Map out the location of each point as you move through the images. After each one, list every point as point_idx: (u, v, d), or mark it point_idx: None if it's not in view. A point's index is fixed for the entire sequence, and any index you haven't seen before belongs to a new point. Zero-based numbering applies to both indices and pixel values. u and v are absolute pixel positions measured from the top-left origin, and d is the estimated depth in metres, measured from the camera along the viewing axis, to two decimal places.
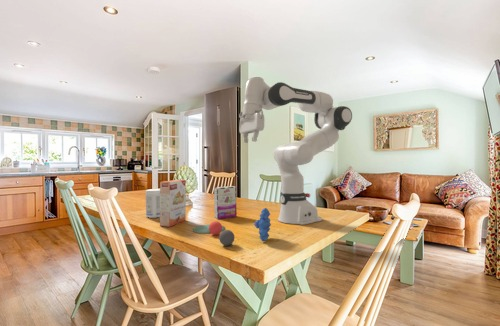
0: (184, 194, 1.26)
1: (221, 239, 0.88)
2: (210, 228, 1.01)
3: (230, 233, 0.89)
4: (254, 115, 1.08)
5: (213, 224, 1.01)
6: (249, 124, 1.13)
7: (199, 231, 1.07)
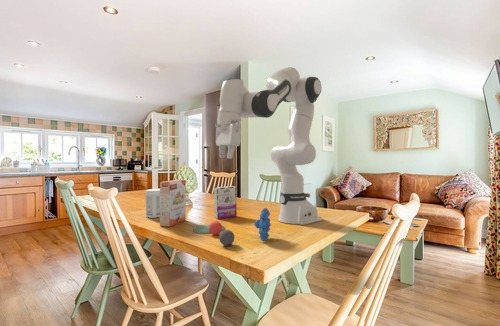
0: (184, 194, 1.26)
1: (221, 239, 0.88)
2: (210, 228, 1.01)
3: (230, 233, 0.89)
4: (229, 126, 0.87)
5: (213, 224, 1.01)
6: (224, 137, 0.91)
7: (199, 231, 1.07)
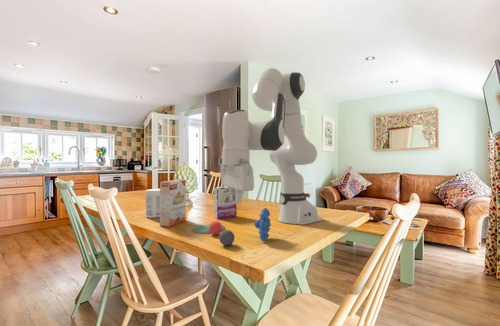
0: (184, 194, 1.26)
1: (221, 239, 0.88)
2: (210, 228, 1.01)
3: (230, 233, 0.89)
4: (239, 168, 0.74)
5: (213, 224, 1.01)
6: (233, 179, 0.78)
7: (199, 231, 1.07)
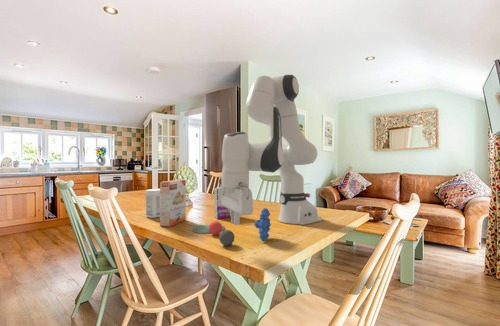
0: (184, 194, 1.26)
1: (221, 239, 0.88)
2: (210, 228, 1.01)
3: (230, 233, 0.89)
4: (238, 192, 0.74)
5: (213, 224, 1.01)
6: (232, 202, 0.78)
7: (199, 231, 1.07)
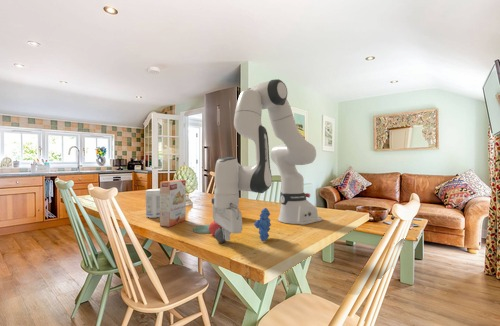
0: (184, 194, 1.26)
1: (216, 233, 0.92)
2: (210, 228, 1.01)
3: None
4: (229, 212, 0.83)
5: (213, 224, 1.01)
6: (224, 220, 0.88)
7: (199, 231, 1.07)
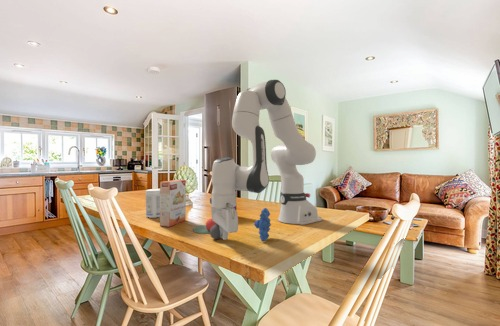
0: (184, 194, 1.26)
1: (210, 231, 0.97)
2: (206, 223, 1.07)
3: None
4: (225, 212, 0.85)
5: None
6: (221, 220, 0.90)
7: (199, 231, 1.07)
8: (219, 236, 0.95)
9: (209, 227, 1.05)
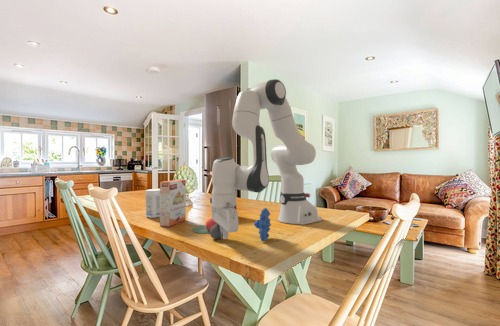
0: (184, 194, 1.26)
1: (210, 231, 0.97)
2: (206, 223, 1.07)
3: None
4: (225, 212, 0.86)
5: None
6: (221, 219, 0.90)
7: (199, 231, 1.07)
8: (219, 236, 0.95)
9: (209, 227, 1.05)
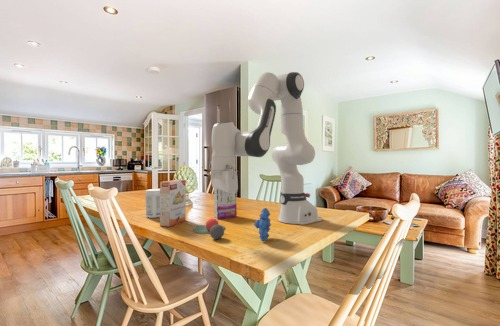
0: (184, 194, 1.26)
1: (210, 231, 0.97)
2: (206, 223, 1.07)
3: None
4: (225, 173, 0.85)
5: None
6: (221, 182, 0.90)
7: (199, 231, 1.07)
8: (219, 236, 0.95)
9: (209, 227, 1.05)
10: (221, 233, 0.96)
